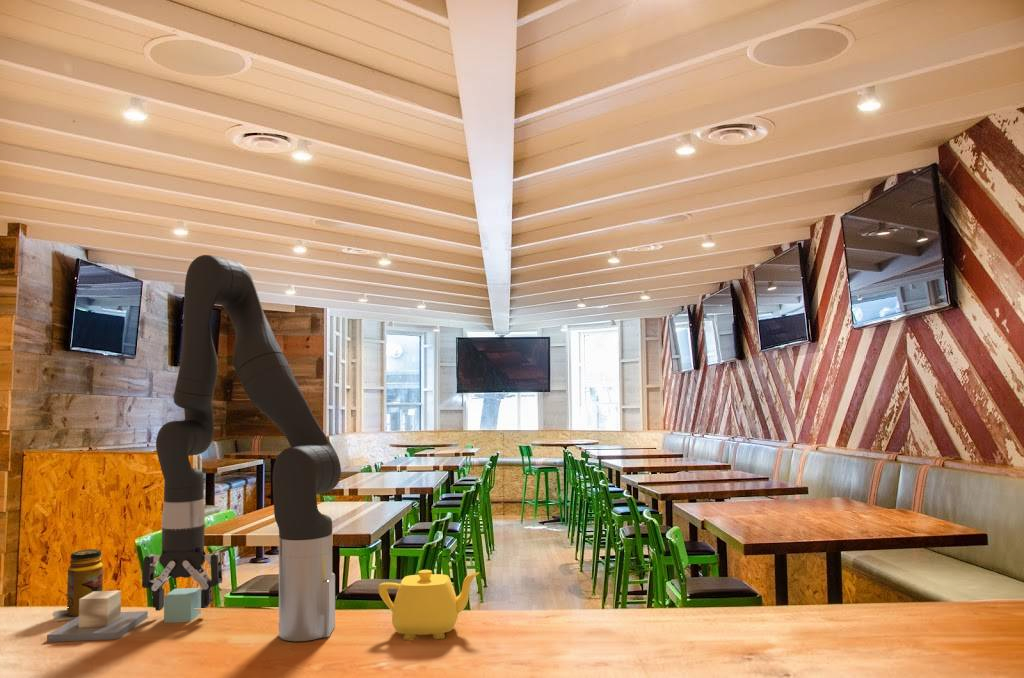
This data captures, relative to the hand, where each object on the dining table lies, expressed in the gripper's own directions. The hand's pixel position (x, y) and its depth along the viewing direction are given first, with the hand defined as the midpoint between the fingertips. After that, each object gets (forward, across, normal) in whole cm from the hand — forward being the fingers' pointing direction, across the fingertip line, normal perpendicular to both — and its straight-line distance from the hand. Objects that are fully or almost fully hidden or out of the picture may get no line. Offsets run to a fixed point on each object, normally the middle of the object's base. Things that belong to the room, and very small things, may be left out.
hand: (182, 608), depth 139 cm
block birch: (0, +13, +5) cm, 14 cm away
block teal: (+2, 0, 0) cm, 2 cm away
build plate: (+2, +13, +5) cm, 14 cm away
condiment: (+2, +22, -5) cm, 23 cm away
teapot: (+1, -48, +14) cm, 50 cm away
